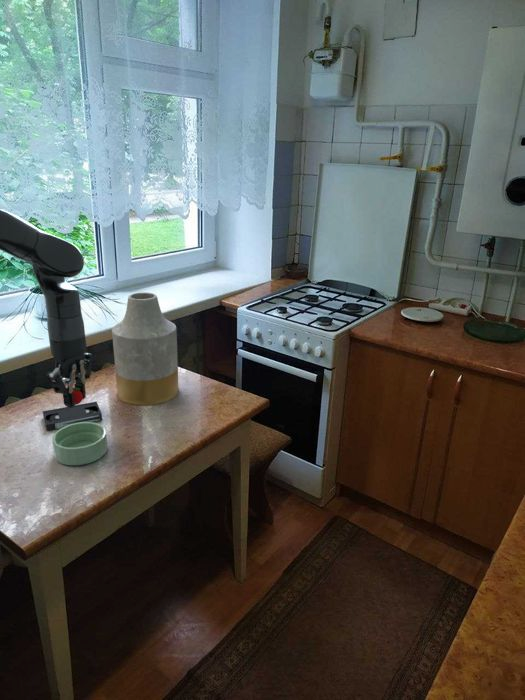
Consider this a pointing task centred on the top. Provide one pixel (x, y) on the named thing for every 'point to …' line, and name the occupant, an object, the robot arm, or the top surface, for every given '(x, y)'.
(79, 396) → the strawberry
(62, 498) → the top surface
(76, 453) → the bowl
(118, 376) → the vase
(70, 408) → the vhs tape
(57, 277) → the robot arm
